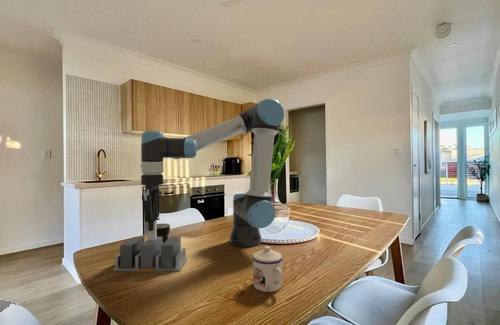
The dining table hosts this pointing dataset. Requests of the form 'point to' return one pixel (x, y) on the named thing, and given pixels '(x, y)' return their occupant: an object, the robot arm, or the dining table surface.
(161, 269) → the rack
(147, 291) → the dining table surface
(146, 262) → the grey rectangular block
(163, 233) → the coffee mug
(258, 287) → the teacup with lid
